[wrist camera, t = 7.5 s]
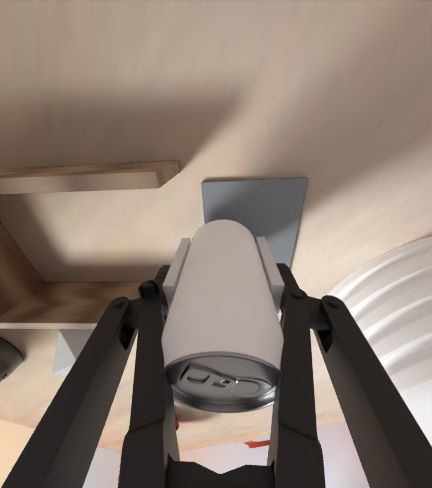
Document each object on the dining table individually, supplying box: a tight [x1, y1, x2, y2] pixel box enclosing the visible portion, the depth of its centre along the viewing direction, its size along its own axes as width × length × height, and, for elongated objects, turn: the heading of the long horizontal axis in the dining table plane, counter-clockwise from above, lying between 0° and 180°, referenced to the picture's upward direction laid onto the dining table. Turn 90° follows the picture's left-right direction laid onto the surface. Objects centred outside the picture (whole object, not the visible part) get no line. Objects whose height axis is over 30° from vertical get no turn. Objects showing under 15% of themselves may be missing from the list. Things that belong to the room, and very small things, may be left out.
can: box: [160, 220, 284, 413], centre depth 13 cm, size 6×6×12 cm
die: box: [53, 329, 94, 376], centre depth 26 cm, size 8×9×10 cm
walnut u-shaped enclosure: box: [0, 161, 180, 329], centre depth 19 cm, size 23×16×6 cm
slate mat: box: [201, 178, 308, 268], centre depth 20 cm, size 10×12×1 cm
